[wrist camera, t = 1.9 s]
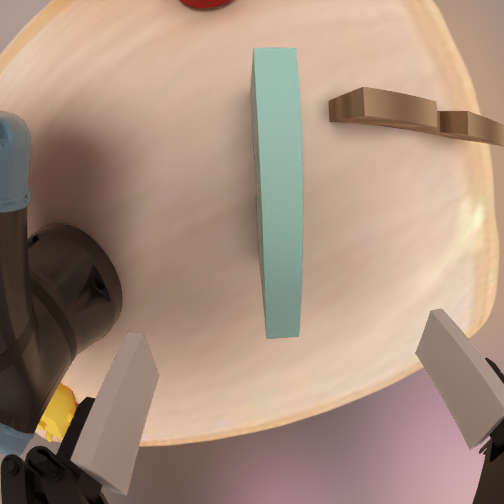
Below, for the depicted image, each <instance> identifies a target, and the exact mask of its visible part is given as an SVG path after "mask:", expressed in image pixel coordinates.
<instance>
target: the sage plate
mask: <svg viewBox="0 0 504 504" xmlns="http://www.w3.org/2000/svg"><path fill="white" fill-rule="evenodd" d="M251 108H252V127H253V145H254V158H255V160H256V178H257V196H256V204H257V225H258V247H259V263H260V274H261V284H262V295H263V305H264V316H265V327H266V338H267V339H272V338H286V337H298V336H299V328H300V309H301V286H302V253H303V163H302V131H301V109H300V91H299V76H298V63H297V51H296V48H253V61H252V76H251Z"/></svg>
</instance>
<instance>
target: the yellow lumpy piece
mask: <svg viewBox="0 0 504 504" xmlns="http://www.w3.org/2000/svg"><path fill="white" fill-rule="evenodd" d="M75 411H76V403H75V399H74V396H73V393H72V391H71V389H69V388H68V387H66V386H64V385H63V384H61V383H60V384H59V385H58V387H57V389H56V391H55V393H54V395H53V396H52V398H51V400H50V402H49V404H48V406H47V408H46V410H45V412H44V414H43V416H42V418H41V420H40V422H39V424H38V426H37V428H39V429H40V430H42V431H44V430H45V431H47V432H46V438H47V440H48V441H49V442H51V440H52V436H53V435H54V436H56V437H58V438H60V439H62V438H63V437H64V435H65V433H66V431H67V429H68V427H69V426H70V422H71V420H72V418H74V413H75Z"/></svg>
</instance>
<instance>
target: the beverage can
mask: <svg viewBox="0 0 504 504" xmlns="http://www.w3.org/2000/svg"><path fill="white" fill-rule="evenodd" d="M180 1H181V2H182V3H183V4H185V5H187V6H190V7H194V8H212V7H216V6H220V5H223V4H225V3H227V2H229V1H231V0H180Z"/></svg>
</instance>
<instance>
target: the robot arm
mask: <svg viewBox="0 0 504 504" xmlns="http://www.w3.org/2000/svg"><path fill="white" fill-rule="evenodd" d="M30 153H31V134H30V130H29V128H28V126H27V124H26V123H25V122H24V120H23V119H21V118H20V117H19V116H17V115H15V114H12V113H8V112H5V111H0V453H1V454H3V455H4V456H6V457H5V458H4V459H3V461H2V464H1V493H2V494H1V495H2V504H108V502H107V500H106V498H105V497H104V494H103V493H102V492H101V488H102V486H104V487H105V488H106V489H108V490H110V491H113V492H117V493H120V494H124V495H127V493H128V488H129V483H130V479H131V476H132V471H133V467H134V463H135V459H136V455H137V451H138V448H139V444H140V440H141V436H142V433H143V429H144V425H145V422H146V418H147V415H148V411H149V408H150V404H151V401H152V397H153V394H154V391H155V387H156V384H157V381H158V377H159V373H158V371H157V368H156V366H155V363H154V360H153V358H152V355H151V352H150V350H149V347H148V344H147V341H146V338H145V335H144V333H140V332H128V333H127V335H126V337H125V339H124V341H123V343H122V345H121V347H120V349H119V351H118V353H117V355H116V357H115V359H114V361H113V363H112V365H111V367H110V369H109V371H108V373H107V375H106V377H105V380H104V382H103V384H102V386H101V388H100V390H99V393H98V395H97V397H96V399H95V398H91V397H86V398H85V399H84V400H83V401H82V402H81V403H80V404H79V405H78V407H77V409H76V411H75V413H74V418H72V420H71V422H70V426H69V427H68V429H67V431H66V433H65V436H64V438H63V440H62V443H61V445H60V448H59V450H58V452H57V454H56V455H55V454H53V452H51V451H50V450H49V449H48V448H47V447H43V446H36V447H34V448H32V449H31V450H30V451H29V452H28V453H27V456H26V459H25V461H23V460H22V459H21V458H20V457H19V456H20V455H21V454H22V453H23V451H24V449H25V448H26V446H27V445H28V443H29V441H30V440H31V439H32V438H33V437H34V435H35V430H36V428H37V426H38V424H39V422H40V420H41V418H42V416H43V414H44V412H45V410H46V408H47V406H48V404H49V402H50V400H51V398H52V396H53V395H54V393H55V391H56V389H57V387H58V385H59V384H60V382H61V380H62V378H63V377H64V375H65V373H66V371H67V370H68V368H69V366H70V364H71V363H72V361H73V360H74V358H75V357H76V355H77V354H79V353H80V352H82V351H83V350H85V349H86V348H88V347H89V346H91V345H92V344H93V343H95V342H96V341H98V340H99V339H101V338H102V337H104V336H105V335H106V334H107V333H108V332H109V331H110V329H111V328H112V326H113V325H114V323H115V321H116V320H117V318H118V316H119V314H120V310H121V305H122V294H121V287H120V283H119V280H118V277H117V274H116V272H115V270H114V268H113V266H112V264H111V262H110V260H109V259H108V257H107V256H106V254H105V253H104V252H103V250H102V249H101V248H100V247H99V246H98V244H97V243H96V242H95V241H93V240H92V239H91V238H90V237H89V236H88V235H86V234H85V233H83V232H82V231H80V230H78V229H76V228H74V227H72V226H69V225H65V224H51V225H48V226H45V227H44V228H42V229H40V230H38V231H37V232H35V233H34V234H32V235H31V236H30V237H29V238H28V239H27V208H28V204H29V203H30V198H31V193H30V188H29V185H28V184H29V165H30ZM416 355H417V356H418V358H419V360H420V361H421V363H422V364H423V366H424V368H425V369H426V371H427V372H428V374H429V375H430V377H431V379H432V381H433V382H434V384H435V386H436V388H437V389H438V391H439V393H440V394H441V396H442V398H443V400H444V401H445V403H446V405H447V407H448V408H449V410H450V412H451V414H452V416H453V418H454V419H455V422H456V423H457V425H458V427H459V429H460V431H461V433H462V435H463V437H464V439H465V441H466V443H467V445H468V447H469V449H470V450H471V449H473V448H474V447H476V446H478V445H479V444H481V443H482V442H483V441H484V440H485V439H486V438H487V437H488V436H489V435H490V437H491V439H490V440H489V441H488V442H487V443H486V444H485V445H484V446H483V447H482V448H481V449H480V451H479V453H482V452H483V451H484V450H485V449H486V448H487V449H486V450H485V451H484V453H483V454H485V460H484V465H483V469H482V473H481V477H480V481H479V484H478V488H477V491H476V494H475V498H474V500H473V504H504V375H503V374H502V373H501V372H500V370H499V368H498V367H497V366H496V364H495V363H494V362H492V361H491V360H489V359H488V358H485V359H484V357H483V356H482V355H481V354H480V352H479V351H478V350H477V349H476V347H475V346H474V345H473V344H472V342H470V340H469V339H468V338H467V336H466V335H465V334H464V333H463V332H462V331H461V329H460V328H459V327H458V326H457V325H456V324H455V322H454V321H453V320H452V319H451V318H450V317H449V316H448V315H447V313H446V312H445V311H444V310H443V309H437V310H432V311H430V314H429V317H428V320H427V323H426V326H425V329H424V332H423V335H422V337H421V340H420V343H419V345H418V348H417V350H416Z"/></svg>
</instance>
